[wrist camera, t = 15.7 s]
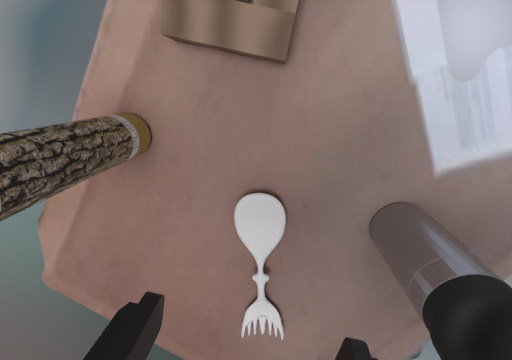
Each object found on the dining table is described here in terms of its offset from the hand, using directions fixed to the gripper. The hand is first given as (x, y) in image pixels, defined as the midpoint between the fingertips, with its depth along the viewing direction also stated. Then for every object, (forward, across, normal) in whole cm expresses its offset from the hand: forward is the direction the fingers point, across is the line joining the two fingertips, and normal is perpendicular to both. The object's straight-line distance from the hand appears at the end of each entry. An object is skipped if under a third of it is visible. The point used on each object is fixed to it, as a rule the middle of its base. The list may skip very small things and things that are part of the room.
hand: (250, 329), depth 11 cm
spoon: (+33, -3, +22) cm, 40 cm away
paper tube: (+32, +23, +2) cm, 40 cm away
